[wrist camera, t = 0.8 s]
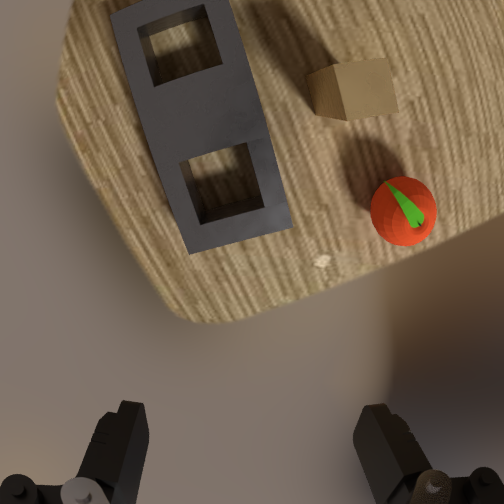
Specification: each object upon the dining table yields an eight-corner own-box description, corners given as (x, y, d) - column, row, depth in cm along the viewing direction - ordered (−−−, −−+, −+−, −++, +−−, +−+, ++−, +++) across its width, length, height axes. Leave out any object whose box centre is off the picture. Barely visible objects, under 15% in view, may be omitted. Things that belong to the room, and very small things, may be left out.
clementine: (342, 191, 32) (365, 215, 25) (389, 148, 30) (422, 162, 23) (383, 241, 34) (410, 272, 28) (426, 202, 32) (460, 225, 26)
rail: (124, 23, 23) (109, 15, 20) (222, -11, 22) (219, -26, 19) (194, 237, 34) (189, 254, 30) (287, 212, 33) (293, 227, 29)
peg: (305, 76, 27) (333, 64, 18) (344, 69, 26) (386, 57, 17) (315, 115, 28) (347, 121, 19) (353, 108, 28) (398, 112, 19)
